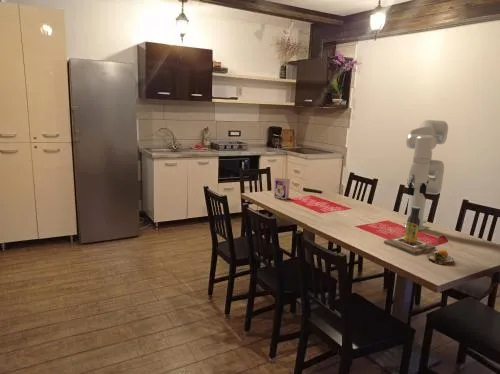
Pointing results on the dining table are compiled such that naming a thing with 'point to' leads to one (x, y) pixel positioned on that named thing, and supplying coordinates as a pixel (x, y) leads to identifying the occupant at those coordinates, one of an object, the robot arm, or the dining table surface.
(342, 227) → the dining table surface
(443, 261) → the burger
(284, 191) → the greeting card
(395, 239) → the walnut board
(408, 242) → the sauce bottle
